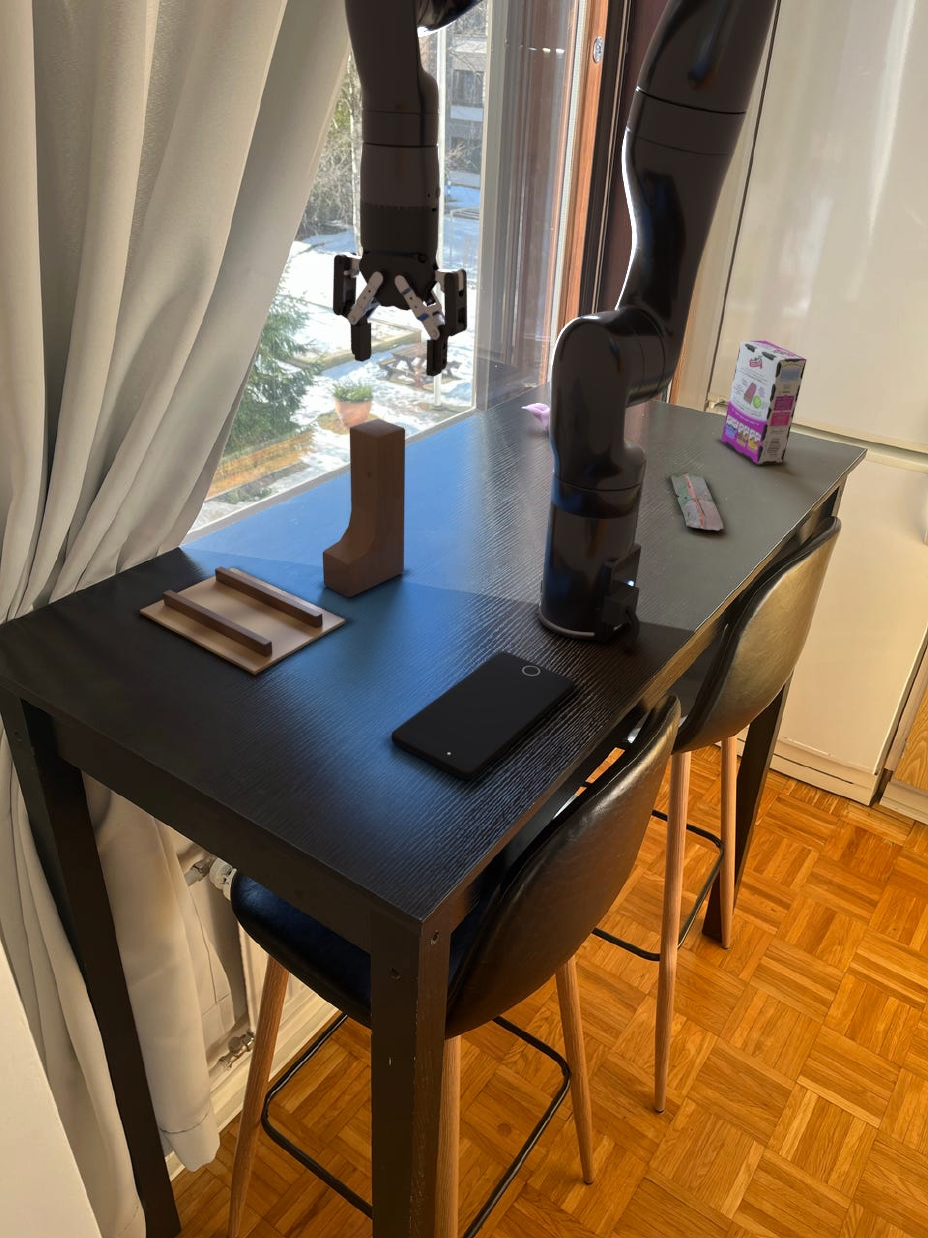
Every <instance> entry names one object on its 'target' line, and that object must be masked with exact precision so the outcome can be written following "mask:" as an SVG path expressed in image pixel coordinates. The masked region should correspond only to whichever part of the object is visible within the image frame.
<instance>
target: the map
mask: <svg viewBox="0 0 928 1238" xmlns="http://www.w3.org/2000/svg"><path fill="white" fill-rule="evenodd" d="M670 477H671V482H672V487H673V489H674V493H675V495H676V496H677V498H676V499H677V502H678V504H679V506H680V509H681V512H682V515H683V516H684V521H685V524H686V526H687V527H691V528H695V529H703V530H708V531H711V530H714V531H720V530H721V529H722V530H724V524H723V520H722V517H721V515H720V513H719V511H718V509H717V506H716V504H715V501H714V499H713V497H712V494H711V492H710V490H709V488H708V486H707V484H706V481H705V477H704V476H702V475H697V474H692V473H689V472H682V473H681V472H680V473H674V474H671V476H670Z"/></svg>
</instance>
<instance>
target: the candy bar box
mask: <svg viewBox="0 0 928 1238" xmlns="http://www.w3.org/2000/svg"><path fill="white" fill-rule="evenodd" d="M739 344H740V345H739V348H738V354H737V360H736V364H735V369H734V375H733V380H732V383H731V389H730V395H729V400H728V406H727V410H726V415H725V420H724V424H723V429H722V430H723V431H722V436H721V442H722V443H724V444H726V445H727V446H728V447H730V448H731V449H733V450H734V451H736V452H738V453H739V454H740V455H742V456H743V457H745V458H747V460H750V461H751V462H752V463H754V464H756V465H757V466H759V465H775V464H777V465H778V464H782V463H783V462H784V458H785V455H786V450H787V445H788V441H789V436H790V432H791V429H792V424H793V419H794V416H795V410H796V407H797V403H798V397H799V396H800V395H799V394H800V389H801V387H802V382H803V377H804V373H805V369H806V365H807V364H806V363H807V359H806V358H804V357H802V356H800V355H798V354H796V353H794V352H791V351H790V350H787V349H785V348H782V347H780V346H778V345H776V344H774V343H772V342H769V341H767V340H750V341H747V340H745V341H740V343H739Z"/></svg>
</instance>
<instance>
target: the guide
mask: <svg viewBox="0 0 928 1238" xmlns="http://www.w3.org/2000/svg"><path fill="white" fill-rule="evenodd" d="M214 574H215V575H213V576H211V577H208V578H206V579H205V580H203V581H200V582H198V583H196V584H193V585H191V586H190V587H187V588H186V589H183V590H181V591H179V592H175V591H173V590H172V589H168V590H165V591H164V592H162V600H161V599H160V600H159V601H157V602H154V603H152V604H150V605H147V606H146V607H144V608H142V609H139V614H140V615H143V616H144V617H147V618H148V619H150V620H152V621H154V622H155V623H158V624H159V625H161V626H163V627H165V628H167V629H168V630H170V631H173V632H174V633H176V634H178V635H180V636H182V637H184V638H186V639H187V640H189V641H191V642H193V643H194V644H197V645H199V646H201V647H202V648H204V649H206V650H208V651H210V652H212V653H214V654H215V655H217V656H219V657H221V658H223V659H224V660H227V661H229V662H230V663H232V664H234V665H235V666H238V667H239V668H241V669H243V670H245V671H247V672H249V673H251V674H253V675H257V674H258V673H260V672H262V671H264V670H265V669H268V668H269V667H271V666H272V665H274V664H276V663H278V662H279V661H281V660H282V659H285V658H286V657H288V656H290V655H292V654H293V653H295V652H297V651H299V650H301V649H302V648H304V647H306V646H307V645H310V644H311V643H313V642H314V641H316V640H319V639H320V638H321V637H323V636H325V635H326V634H329V633H330V632H332V631H333V630H335V629H337V628H339V627H341V626H342V625H344V624H346V619H345V618H343V617H341V616H339V615H336V614H334V613H332V612H330V611H328V610H326V609H324V608H322V607H319V606H317V605H315V604H312V603H310V602H308V601H306V600H304V599H302V598H300V597H298V596H295V595H293V594H291V593H289V592H287V591H284V590H282V589H280V588H278V587H276V586H274V585H272V584H269V583H267V582H265V581H263V580H261V579H258V578H256V577H254V576H252V575H250V574H248V573H245V572H244V571H241V570H239V569H237V568H234V567H231V568H229V569H228V568H226V567H225V566H222V565H221V566H219V567H217V568H215V569H214Z"/></svg>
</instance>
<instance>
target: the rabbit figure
mask: <svg viewBox="0 0 928 1238" xmlns="http://www.w3.org/2000/svg"><path fill="white" fill-rule="evenodd" d="M521 409H522V410H527V411H528V412H529V413H530V414H531V415H532V416H534V417H535V418H536V419H538V420H539V422H540V423H541V425H542V427H543V429H545V430H546V431H547V432H548V433H549V411H550V406H549V405H547V404H544V403H540V402H538V403H537V402H536V403H532V404H528V405H527V406H522V407H521Z"/></svg>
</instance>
